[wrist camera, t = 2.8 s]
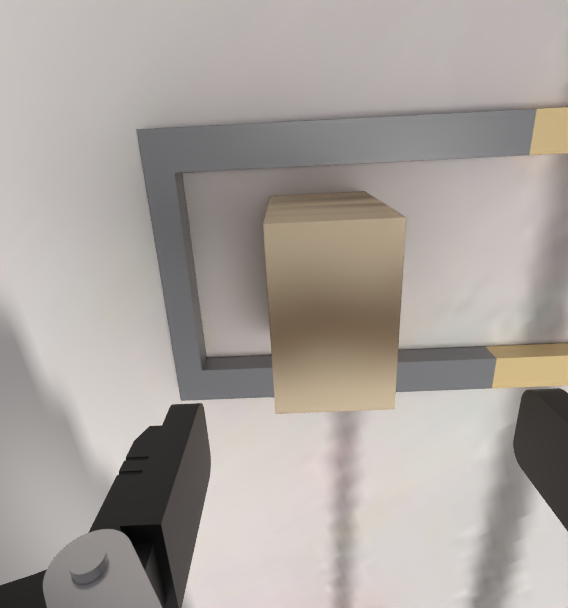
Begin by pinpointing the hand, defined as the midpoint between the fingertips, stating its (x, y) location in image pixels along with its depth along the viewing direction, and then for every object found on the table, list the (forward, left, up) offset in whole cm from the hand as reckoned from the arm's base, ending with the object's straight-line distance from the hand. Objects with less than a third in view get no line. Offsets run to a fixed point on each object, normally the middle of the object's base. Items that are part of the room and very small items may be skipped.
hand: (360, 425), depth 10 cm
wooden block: (0, 0, -14) cm, 14 cm away
